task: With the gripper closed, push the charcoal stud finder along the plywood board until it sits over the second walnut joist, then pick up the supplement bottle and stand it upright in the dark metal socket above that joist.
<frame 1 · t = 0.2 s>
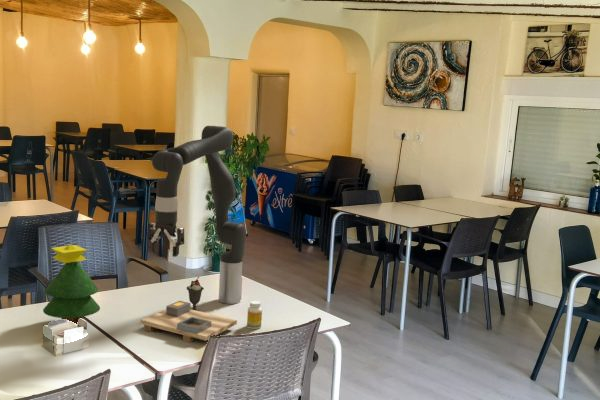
hand: (165, 254, 225), 28 cm above the table, tool pointing down, fingers open, 8 cm apart
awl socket: (194, 327, 225), resting on subfloor board
decorative tree: (71, 326, 229), on the table
sundae: (194, 313, 251), on the table
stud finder: (178, 308, 239), point 5 cm above the table, slide at 0.0 cm
supplement bottle: (254, 327, 240), on the table
subfloor board: (189, 329, 233), on the table
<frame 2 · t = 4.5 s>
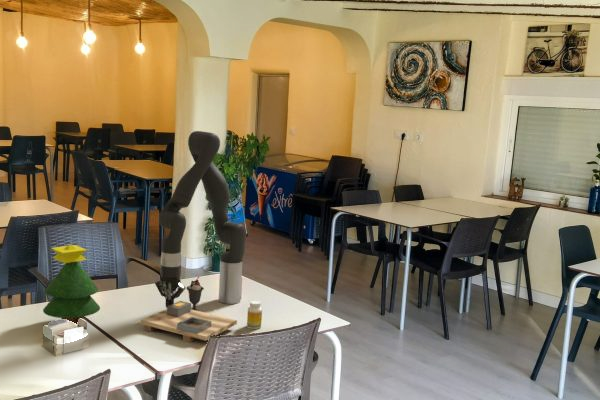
hand: (169, 308, 241), 4 cm above the table, tool pointing down, fingers closed
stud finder: (179, 308, 239), point 5 cm above the table, slide at 0.4 cm, touching gripper
everything else where it was.
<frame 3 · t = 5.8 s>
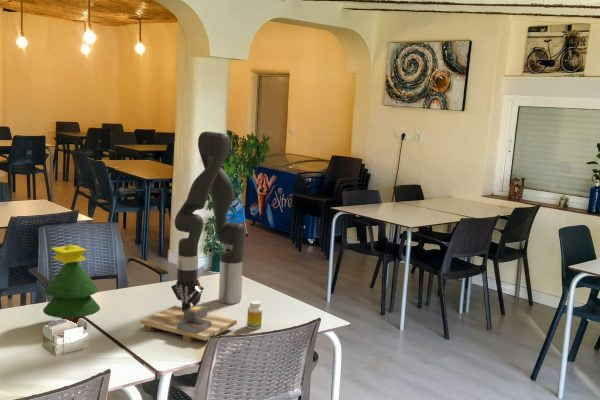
hand: (185, 311, 238), 4 cm above the table, tool pointing down, fingers closed
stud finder: (195, 312, 236), point 5 cm above the table, slide at 7.9 cm, touching gripper
everything else where it was.
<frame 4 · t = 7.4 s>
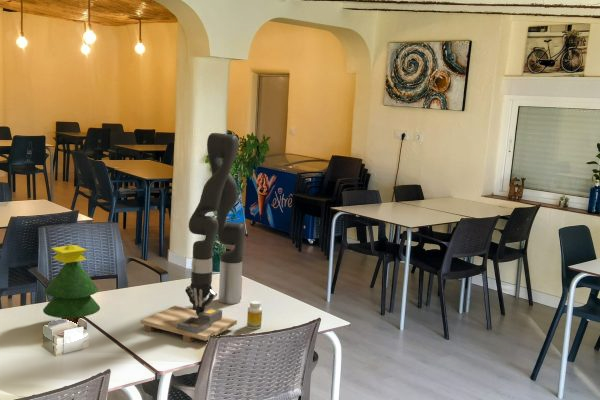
hand: (200, 315, 235), 4 cm above the table, tool pointing down, fingers closed
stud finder: (210, 315, 233), point 5 cm above the table, slide at 14.2 cm, touching gripper
everything else where it was.
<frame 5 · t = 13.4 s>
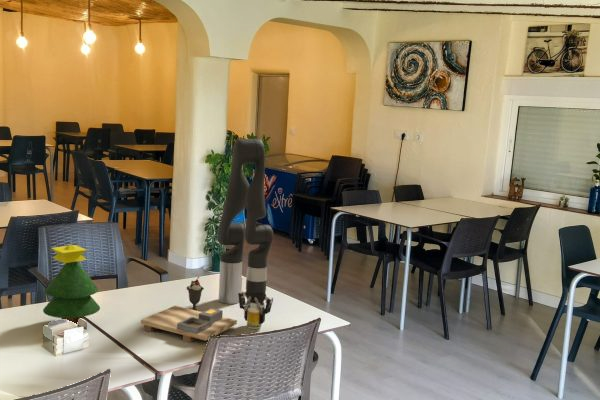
hand: (254, 321, 239), 2 cm above the table, tool pointing down, fingers closed on supplement bottle, 5 cm apart
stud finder: (210, 315, 233), point 5 cm above the table, slide at 14.4 cm
supplement bottle: (254, 327, 240), on the table, touching gripper
everything else where it was.
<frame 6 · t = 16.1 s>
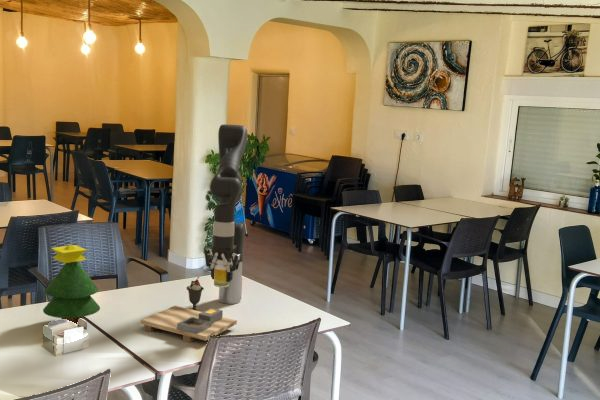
hand: (221, 280, 227), 20 cm above the table, tool pointing down, fingers closed on supplement bottle, 5 cm apart
supplement bottle: (221, 286, 228), point 18 cm above the table, touching gripper
everything else where it was.
when the fingers open (6 cm above the table, at t = 19.3 s): supplement bottle stays where it is, resting on subfloor board.
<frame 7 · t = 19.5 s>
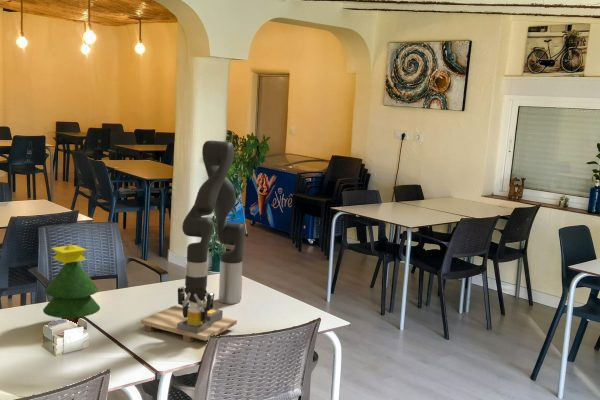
hand: (194, 319, 224), 7 cm above the table, tool pointing down, fingers open, 6 cm apart
supplement bottle: (194, 328, 225), point 3 cm above the table, touching subfloor board
everything else where it was.
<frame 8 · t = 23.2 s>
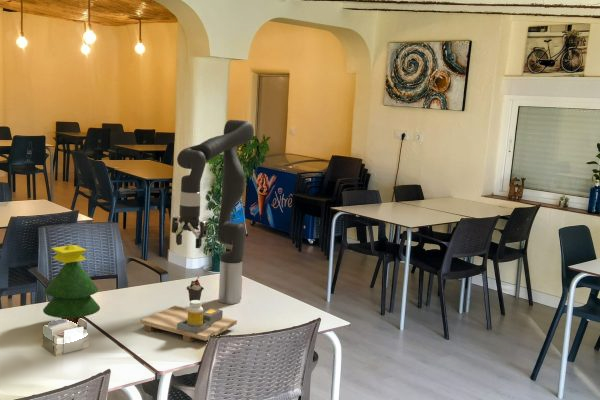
hand: (188, 246, 240), 28 cm above the table, tool pointing down, fingers open, 8 cm apart
nothing on the table moved.
at the end: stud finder slide at 14.4 cm; supplement bottle 0.2 cm from the target spot, point 3.3 cm above the table; supplement bottle tilted 0° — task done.
